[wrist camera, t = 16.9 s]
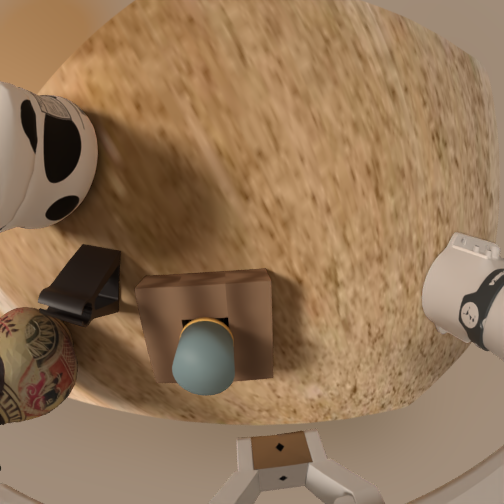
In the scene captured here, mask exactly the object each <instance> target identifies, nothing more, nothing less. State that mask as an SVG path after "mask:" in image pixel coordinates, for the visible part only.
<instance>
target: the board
mask: <svg viewBox="0 0 504 504" xmlns="http://www.w3.org/2000/svg"><path fill="white" fill-rule="evenodd" d="M135 294H136V299H137V304H138V310H139V314H140V319H141V324H142V328H143V333H144V337H145V341H146V345H147V350H148V354H149V357H150V361H151V365H152V369H153V372H154V376H155V379H156V383H177V381H176V380H175V378H174V376H173V372H172V365H173V361H174V358H175V354H176V350H177V347H178V343H179V339H180V335H181V332H182V330H183V328H184V326H185V325H186V324H187V323H189V319H197V318H202V317H208V318H226V317H228V321H229V329H230V331H231V332H232V335H233V339H234V366H235V377H234V380H233V381H245V380H257V379H267V378H273V333H272V292H271V279H270V277H269V275H268V273H267V270H266V268H264V269H250V270H236V271H220V272H205V273H188V274H171V275H153V276H145V277H144V278H143V279H142V281H141V282H140V283H139V284H138V285H137V286H136V288H135Z"/></svg>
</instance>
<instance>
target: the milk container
mask: <svg viewBox="0 0 504 504" xmlns="http://www.w3.org/2000/svg"><path fill="white" fill-rule="evenodd" d="M97 158H98V145H97V138H96V134H95V130H94V127H93V125H92V123H91V121H90V119H89V118H88V117H87V115H86V114H85V113H84V112H83V111H82V110H81V109H80V108H79V107H78V106H77V105H76V104H74V103H73V102H71V101H69V100H67V99H65V98H62V97H59V96H54V95H41V96H39V95H36V94H34V93H32V92H30V91H28V90H25V89H23V88H20V87H16V86H15V85H13V84H10V83H6V82H0V232H3V231H6V230H9V229H12V228H15V227H21V228H26V229H39V228H44V227H48V226H51V225H53V224H55V223H57V222H59V221H61V220H63V219H64V218H65V217H67V216H68V215H70V214H71V213H72V212H73V211H74V210H75V209H76V208H77V207H78V206H79V205H80V204H81V202H82V201H83V199H84V198H85V196H86V195H87V193H88V191H89V189H90V186H91V184H92V181H93V178H94V175H95V171H96V166H97Z"/></svg>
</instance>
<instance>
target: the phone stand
mask: <svg viewBox="0 0 504 504" xmlns="http://www.w3.org/2000/svg"><path fill="white" fill-rule="evenodd" d="M120 257H121V251H118V250H112V249H107V248H101V247H96V246H90V245H85V244H82V246H81V247H80V248H79V249H78V250H77V252H76V253H75V254H74V255H73V257H72V258H71V259H70V260H69V262H68V263H67V264H66V266H65V267H64V268H63V270H62V271H61V272H60V273H59V275H58V276H57V277H56V279H55V280H54V282H53V283H52V284H51V285H50V286H49V287H48V288H45V289H43V290H42V291H41V293H40V295H39V299H38V302H39V303H42V304H45V305H48V306H49V307H48V309H47V310H44V309H41V308H40V309H39V311H40V313H41V314H44V315H47V316H50V317H53V318H56V319H59V320H62V321H66V322H69V323H72V324H76V325H79V326H83V327H87V326H88V325H89V323H90V322H91V321H92V320H93V319H94V318H98V317H102V316H105V315H109V314H113V313H116V312H118V310H119V276H120Z"/></svg>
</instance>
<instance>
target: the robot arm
mask: <svg viewBox="0 0 504 504" xmlns="http://www.w3.org/2000/svg"><path fill="white" fill-rule="evenodd" d="M461 240H462V241H461ZM422 306H423V310H424V313H425V315H426V316H427V318H428V319H429V320H431V321H432V322H434V323H435V325H436V328H437V331H438V332H439V333H441V334H445V333H447V332H448V333H450V334H452V335H453V336H455V337H457V338H458V339H460V340H462V341H464V342H466V343H469V342H471V341H472V342H473V343H474V344H475V345H476V346H477V347H479V348H482V349H483V350H485V351H491V352H492V353H493V354H495V355H496V356H497V357H499V358H500V359H501V360H503V361H504V258H501V257H500V248H499V246H498V245H497V244H495V243H493V242H490V241H486V240H483V239H480V238H476V237H473V236H470V235H466V234H463V233H459V232H455V233H454V234H453V236H452V237H451V239H450V241H449V244H448V246H447V247H446V248H445V250H444V251H443V252H442V253H441V254H440V255H439V256H438V257H437V258H436V259H435V261H434V262H433V264H432V266H431V267H430V269H429V271H428V274H427V276H426V279H425V282H424V286H423V292H422ZM251 445H252V446H251ZM237 462H238V471H234V472H233V474H232V475H231V476H230V477H229V479H228V480H227V481H226V482H225V484H224V485H223V486H222V487H221V488H220V490H219V491H218V492H217V493H216V495H215V496H214V497H213V498H212V499H211V500H210V502H209V503H208V504H254V503H255V501H256V499H257V498H258V496H259V494H260V492H261V491H269V490H277V489H284V488H292V487H299V486H305V487H306V488H307V489H308V490H310V491H311V492H312V493H313V494H314V495H315V496H316V497H318V498H319V499H320V500H321V501H322V502H324V503H325V504H385V502H384V500H383V498H382V496H381V494H380V491H379V489H378V487H377V486H376V485H375V484H373V483H371V482H369V481H368V480H366V479H364V478H362V477H361V476H359V475H357V474H356V473H354V472H352V471H351V470H349V469H348V468H345V467H344V466H343V465H341V464H339V463H338V462H336V461H335V460H333V459H328V458H327V455H326V452H325V449H324V446H323V444H322V441H321V438H320V436H319V432H318V430H317V429H310V430H305V431H297V432H291V433H284V434H277V435H271V436H258V437H251V438H250V437H242V438H237ZM0 504H43V503H41V502H39V501H37V500H35V499H33V498H30V497H28V496H26V495H24V494H23V493H20V492H19V491H17V490H15V489H13V488H12V487H10V486H8V485H6V484H2V483H0ZM406 504H504V445H503V446H502V447H501V448H499V449H498V450H497V451H495V452H494V453H493V454H491V455H490V456H489V457H487V458H486V459H484V460H483V461H482V462H480V463H479V464H478V465H476V466H474V467H473V468H471V469H470V470H468V471H466V472H465V473H463V474H462V475H460V476H458V477H457V478H455V479H453V480H451V481H450V482H448V483H446V484H444V485H443V486H441V487H439V488H437V489H435V490H433V491H431V492H429V493H427V494H425V495H423V496H421V497H419V498H417V499H415V500H412V501H410V502H408V503H406Z"/></svg>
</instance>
